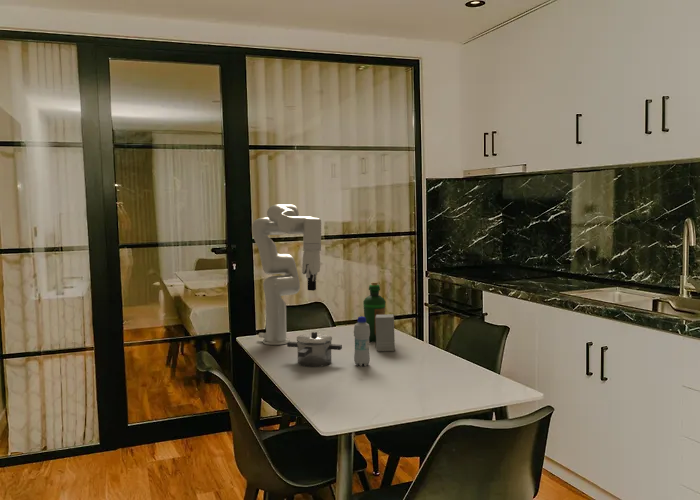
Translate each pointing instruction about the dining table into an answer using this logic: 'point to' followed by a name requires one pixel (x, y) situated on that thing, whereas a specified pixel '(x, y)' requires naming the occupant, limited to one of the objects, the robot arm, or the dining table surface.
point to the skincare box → (385, 332)
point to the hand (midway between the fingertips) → (311, 290)
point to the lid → (314, 338)
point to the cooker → (314, 353)
